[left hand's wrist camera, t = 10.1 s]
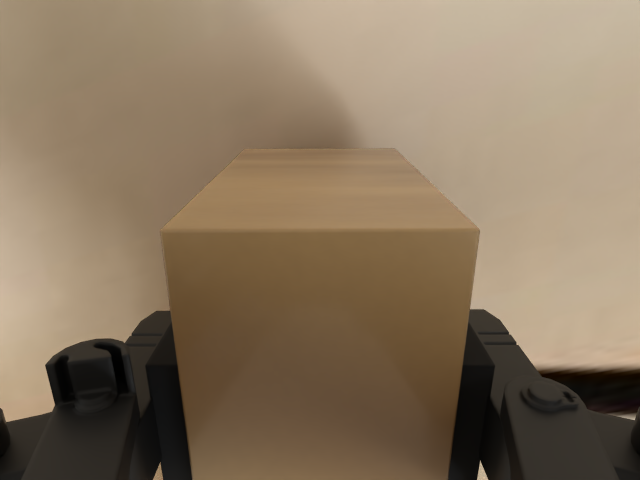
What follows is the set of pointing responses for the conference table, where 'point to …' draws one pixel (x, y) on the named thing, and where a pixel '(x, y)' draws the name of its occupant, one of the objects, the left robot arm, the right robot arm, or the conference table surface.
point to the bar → (320, 317)
